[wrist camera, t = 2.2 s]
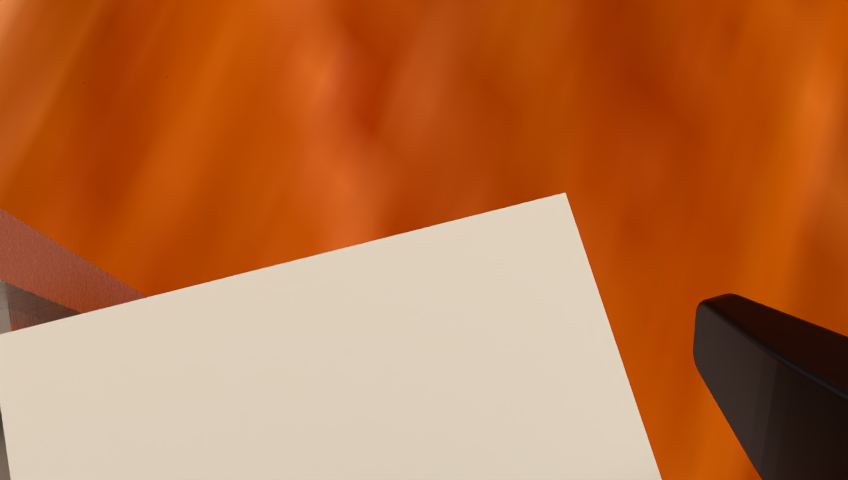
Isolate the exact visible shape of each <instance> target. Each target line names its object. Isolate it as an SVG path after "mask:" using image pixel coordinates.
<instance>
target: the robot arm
mask: <svg viewBox="0 0 848 480" xmlns="http://www.w3.org/2000/svg"><path fill="white" fill-rule="evenodd" d="M693 356H694V361H695V364H696V367H697V369H698V371H699V373H700V375H701V376H702V378H703V380H704V382H705V383H706V385H707V387H708V389H709V390H710V392H711V394H712V395H713V397H714V399H715V401H716V402H717V404H718V406H719V408H720V409H721V411H722V413H723V414H724V416H725V418H726V420H727V421H728V423H729V425H730V427H731V428H732V430H733V432H734V433H735V435H736V437H737V439H738V440H739V442H740V444H741V446H742V447H743V449H744V451H745V452H746V454H747V456H748V458H749V459H750V461H751V462H752V464H753V466H754V467H755V469H756V471H757V472H758V474H759V475H760V477H761V478H762V480H848V337H847V336H844V335H842V334H839V333H836V332H834V331H831V330H829V329H826V328H823V327H821V326H818V325H815V324H813V323H810V322H807V321H805V320H802V319H800V318H797V317H794V316H792V315H789V314H786V313H784V312H781V311H779V310H776V309H773V308H771V307H768V306H765V305H763V304H760V303H758V302H755V301H752V300H750V299H747V298H744V297H742V296H739V295H736V294H731V293H730V294H723V295H720V296H716V297H713V298H709V299H705V300H703V301H701V302H700V303H699V305H698V307H697V310H696V319H695V332H694V345H693Z"/></svg>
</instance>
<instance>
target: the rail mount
mask: <svg viewBox="0 0 848 480" xmlns="http://www.w3.org/2000/svg"><path fill="white" fill-rule="evenodd" d="M143 298H147V297H146V296H144V295H143V294H141V293H139V292H138V291H136V290H134V289H133V288H131V287H130V286H128V285H126V284H125V283H123V282H121V281H120V280H118V279H116V278H115V277H113V276H111V275H110V274H108V273H106V272H105V271H103V270H101V269H100V268H98V267H96V266H95V265H93V264H91V263H90V262H88V261H86V260H85V259H83V258H81V257H80V256H78V255H76V254H75V253H73V252H71V251H70V250H68V249H66V248H65V247H63V246H61V245H60V244H58V243H57V242H55V241H53V240H52V239H50V238H48V237H47V236H45V235H43V234H42V233H40V232H38V231H37V230H35V229H33V228H32V227H30V226H28V225H27V224H25V223H23V222H22V221H20V220H18V219H17V218H15V217H13V216H12V215H10V214H8V213H7V212H5V211H3V210H2V209H0V334H4V333H8V332H12V331H16V330H20V329H24V328H28V327H32V326H36V325H40V324H44V323H48V322H52V321H56V320H60V319H64V318H67V317H71V316H75V315H79V314H83V313H87V312H91V311H95V310H99V309H103V308H107V307H111V306H115V305H119V304H123V303H127V302H131V301H135V300H139V299H143ZM0 480H11V478H10V471H9V464H8V457H7V450H6V443H5V435H4V428H3V421H2V414H1V407H0Z"/></svg>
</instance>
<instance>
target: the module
mask: <svg viewBox="0 0 848 480" xmlns="http://www.w3.org/2000/svg"><path fill="white" fill-rule="evenodd" d="M0 407H1V414H2V421H3V428H4V435H5V443H6V450H7V457H8V464H9V471H10V478H11V480H662V479H661V476H660V473H659V470H658V467H657V464H656V461H655V458H654V455H653V452H652V449H651V447H650V444H649V441H648V438H647V435H646V432H645V429H644V426H643V423H642V420H641V417H640V414H639V411H638V408H637V405H636V402H635V399H634V396H633V393H632V390H631V387H630V384H629V381H628V378H627V375H626V372H625V369H624V366H623V363H622V360H621V357H620V354H619V351H618V348H617V345H616V342H615V339H614V336H613V333H612V330H611V327H610V324H609V322H608V319H607V316H606V313H605V310H604V307H603V304H602V301H601V298H600V295H599V292H598V289H597V286H596V283H595V280H594V277H593V274H592V271H591V268H590V265H589V262H588V259H587V256H586V253H585V250H584V247H583V244H582V241H581V238H580V235H579V232H578V229H577V226H576V223H575V220H574V217H573V214H572V211H571V208H570V205H569V202H568V199H567V197H566V194H565V193H562V194H558V195H554V196H550V197H546V198H542V199H538V200H534V201H530V202H526V203H522V204H518V205H514V206H510V207H506V208H502V209H498V210H494V211H490V212H486V213H482V214H478V215H474V216H470V217H466V218H462V219H458V220H454V221H451V222H447V223H443V224H439V225H435V226H431V227H427V228H423V229H419V230H415V231H411V232H407V233H403V234H399V235H395V236H391V237H387V238H383V239H379V240H375V241H371V242H367V243H363V244H359V245H355V246H351V247H347V248H343V249H339V250H335V251H331V252H327V253H323V254H319V255H315V256H311V257H307V258H303V259H299V260H295V261H291V262H287V263H283V264H279V265H275V266H271V267H267V268H263V269H259V270H255V271H251V272H247V273H243V274H239V275H235V276H231V277H227V278H223V279H219V280H215V281H211V282H207V283H203V284H199V285H195V286H191V287H187V288H183V289H179V290H175V291H171V292H167V293H163V294H159V295H155V296H151V297H147V298H143V299H139V300H135V301H131V302H127V303H123V304H119V305H115V306H111V307H107V308H103V309H99V310H95V311H91V312H87V313H83V314H79V315H75V316H71V317H67V318H64V319H60V320H56V321H52V322H48V323H44V324H40V325H36V326H32V327H28V328H24V329H20V330H16V331H12V332H8V333H4V334H0Z"/></svg>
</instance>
